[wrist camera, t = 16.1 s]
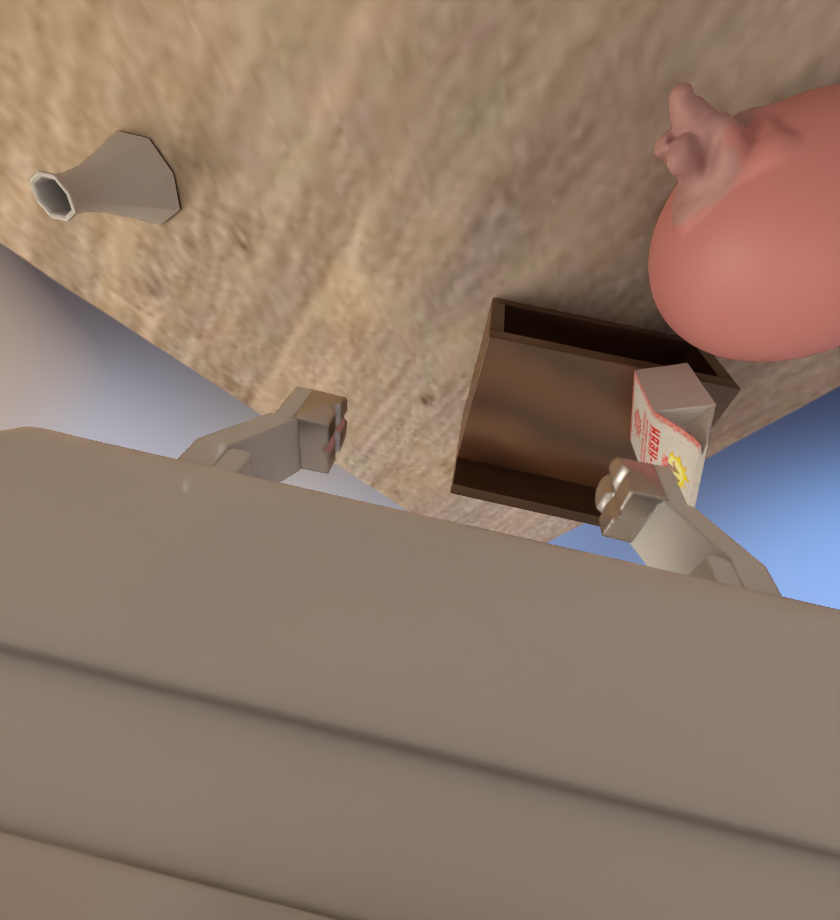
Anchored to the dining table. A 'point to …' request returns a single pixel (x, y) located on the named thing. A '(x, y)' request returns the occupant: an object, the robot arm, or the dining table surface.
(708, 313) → the balloon
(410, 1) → the dining table surface
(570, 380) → the rack
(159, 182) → the flask
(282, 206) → the dining table surface
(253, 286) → the dining table surface
